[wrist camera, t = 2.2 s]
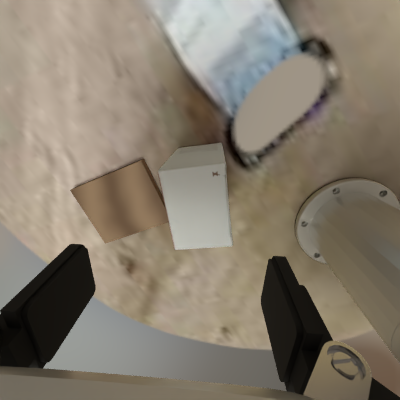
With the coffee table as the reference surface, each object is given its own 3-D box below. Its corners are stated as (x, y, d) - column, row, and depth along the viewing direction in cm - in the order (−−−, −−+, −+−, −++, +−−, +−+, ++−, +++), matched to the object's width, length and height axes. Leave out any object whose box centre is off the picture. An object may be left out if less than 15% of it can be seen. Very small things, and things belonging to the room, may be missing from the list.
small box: (177, 147, 27) (155, 168, 17) (222, 141, 26) (226, 160, 16) (187, 205, 30) (173, 252, 20) (227, 202, 29) (233, 248, 19)
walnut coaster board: (143, 158, 27) (141, 160, 26) (173, 217, 30) (171, 221, 29) (74, 187, 30) (70, 190, 29) (108, 239, 33) (105, 243, 32)
